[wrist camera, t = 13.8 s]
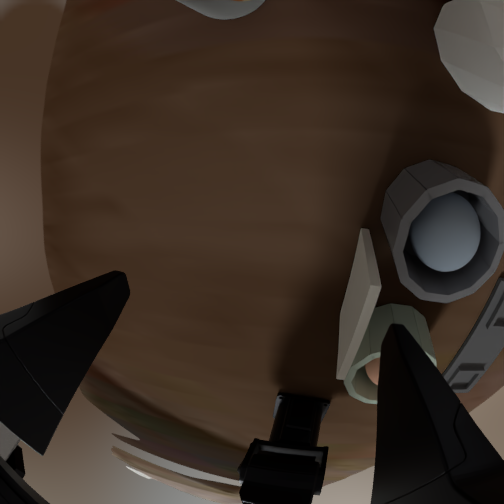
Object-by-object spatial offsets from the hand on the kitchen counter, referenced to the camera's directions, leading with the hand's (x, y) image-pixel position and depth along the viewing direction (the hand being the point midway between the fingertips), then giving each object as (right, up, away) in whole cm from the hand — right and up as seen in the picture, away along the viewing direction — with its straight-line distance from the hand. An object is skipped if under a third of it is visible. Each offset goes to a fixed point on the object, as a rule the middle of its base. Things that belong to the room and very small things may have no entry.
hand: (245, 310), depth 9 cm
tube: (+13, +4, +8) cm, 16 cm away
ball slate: (+13, +4, +8) cm, 16 cm away
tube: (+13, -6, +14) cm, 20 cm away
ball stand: (+24, -8, +12) cm, 28 cm away
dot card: (+8, 0, +12) cm, 15 cm away
